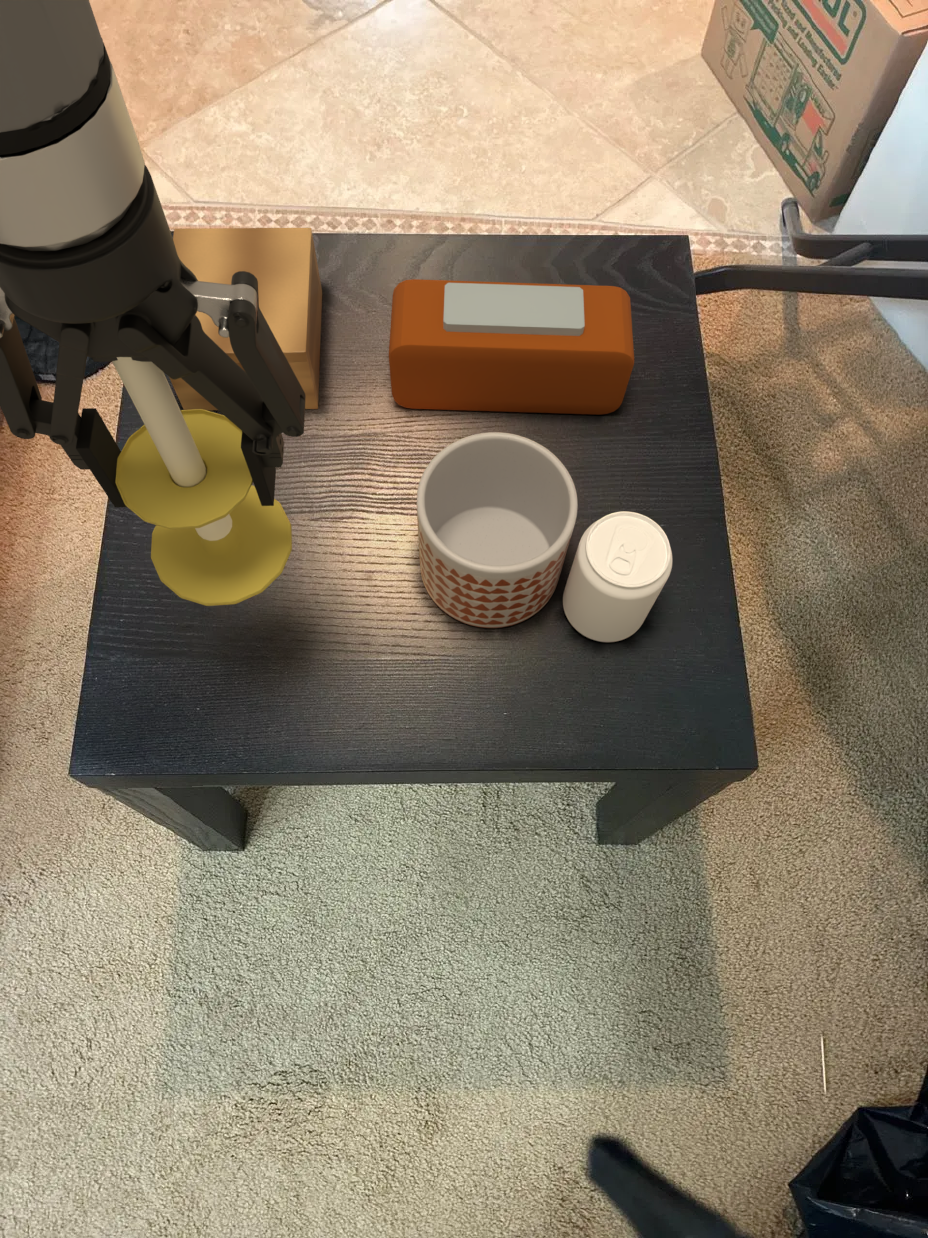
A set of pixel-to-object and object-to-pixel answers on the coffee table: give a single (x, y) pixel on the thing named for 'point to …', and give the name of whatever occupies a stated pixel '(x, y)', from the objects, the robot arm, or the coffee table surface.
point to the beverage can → (616, 576)
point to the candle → (197, 497)
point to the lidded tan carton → (262, 293)
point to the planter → (494, 528)
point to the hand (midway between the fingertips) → (196, 487)
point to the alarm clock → (510, 346)
